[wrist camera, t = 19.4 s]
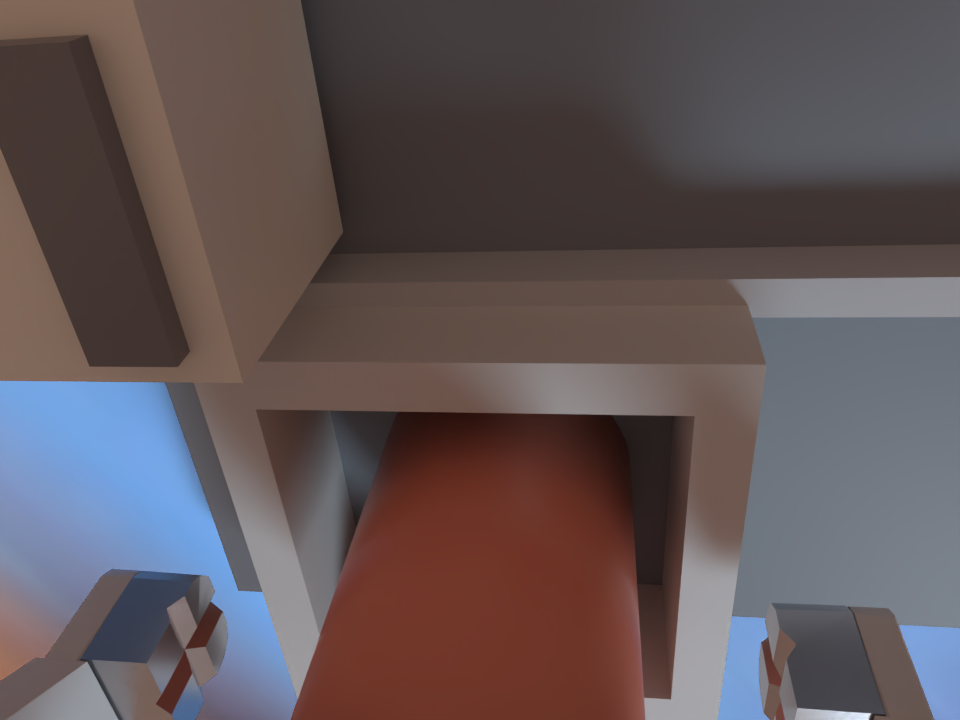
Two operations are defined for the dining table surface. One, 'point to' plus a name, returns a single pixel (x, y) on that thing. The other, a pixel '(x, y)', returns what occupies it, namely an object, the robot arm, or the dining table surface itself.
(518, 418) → the bottle with white cap
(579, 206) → the panel
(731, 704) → the dining table surface
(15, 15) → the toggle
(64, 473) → the dining table surface
